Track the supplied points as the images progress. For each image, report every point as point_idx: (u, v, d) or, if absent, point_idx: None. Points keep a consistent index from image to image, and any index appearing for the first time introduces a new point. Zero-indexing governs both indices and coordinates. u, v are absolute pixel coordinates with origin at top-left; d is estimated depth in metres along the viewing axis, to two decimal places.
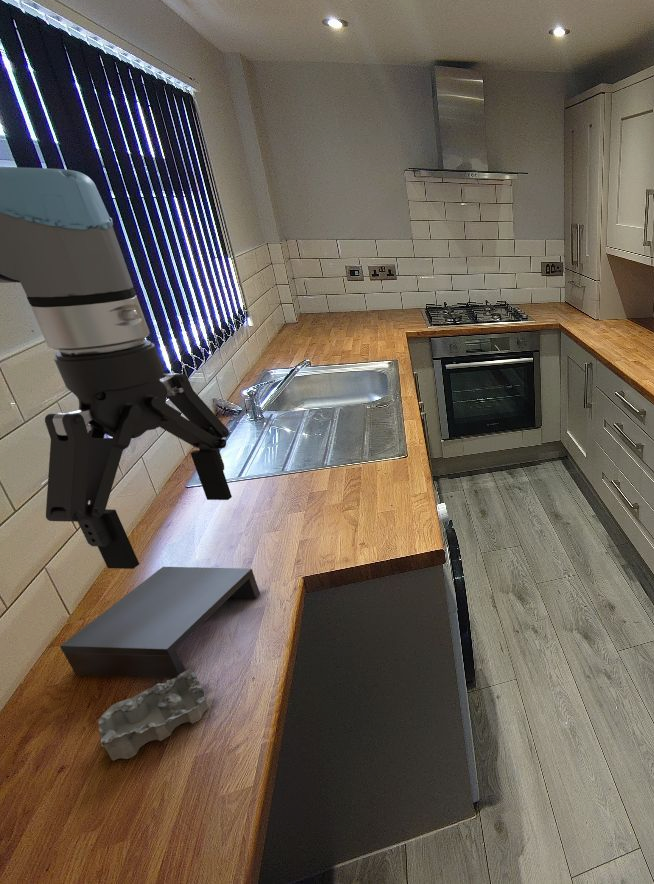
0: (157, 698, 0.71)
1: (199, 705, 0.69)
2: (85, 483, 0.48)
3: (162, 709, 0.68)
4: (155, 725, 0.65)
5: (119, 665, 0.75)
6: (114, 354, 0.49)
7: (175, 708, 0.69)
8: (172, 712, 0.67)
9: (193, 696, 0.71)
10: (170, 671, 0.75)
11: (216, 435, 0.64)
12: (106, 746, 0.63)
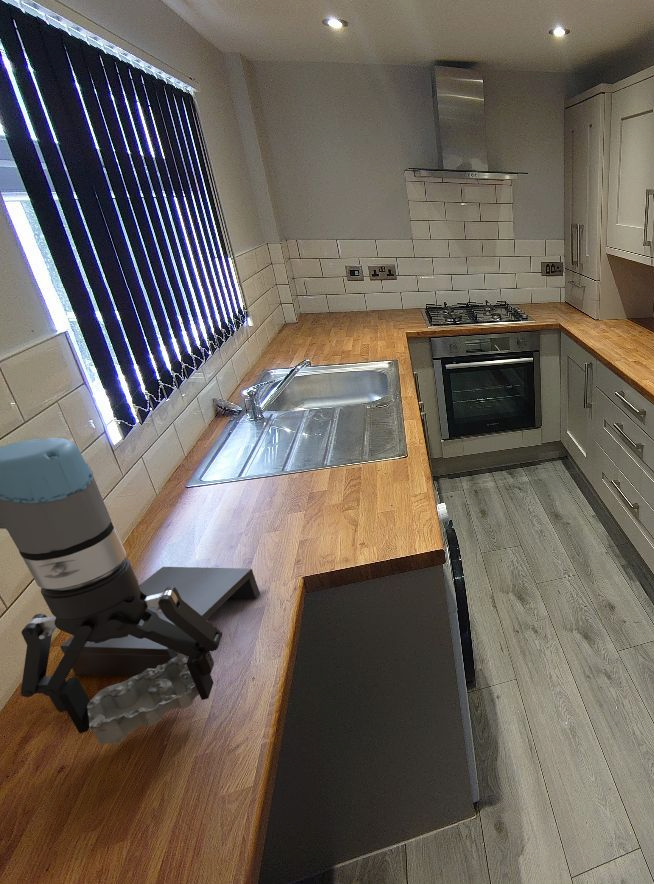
0: (147, 683, 0.70)
1: (190, 691, 0.68)
2: (36, 673, 0.60)
3: (152, 695, 0.67)
4: (145, 710, 0.65)
5: (119, 665, 0.75)
6: (49, 595, 0.56)
7: (166, 693, 0.68)
8: (162, 697, 0.66)
9: (184, 682, 0.70)
10: None
11: None
12: (94, 730, 0.62)
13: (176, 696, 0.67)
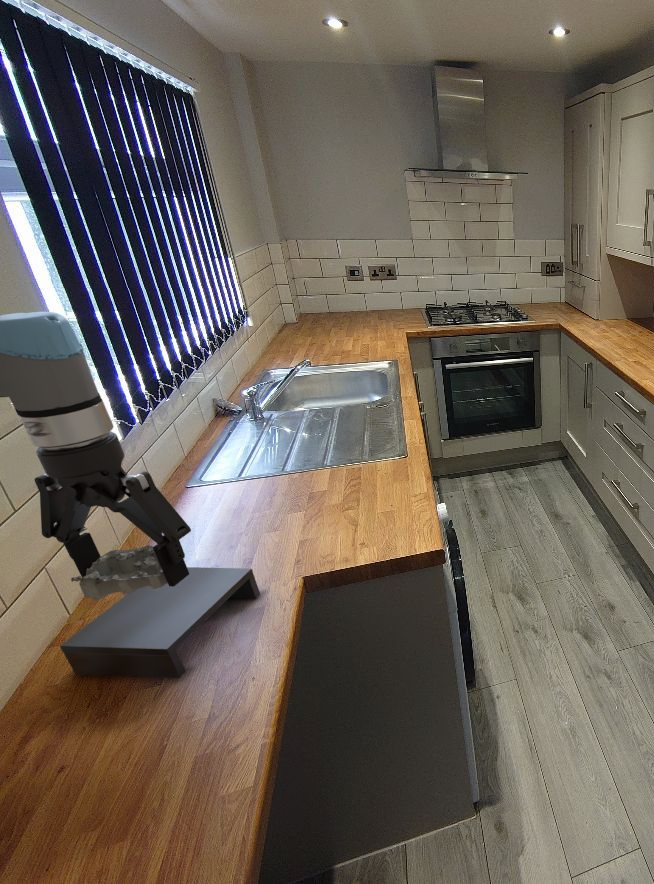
0: None
1: (159, 574, 0.72)
2: (49, 519, 0.70)
3: (136, 567, 0.73)
4: (117, 578, 0.70)
5: (119, 665, 0.75)
6: (38, 451, 0.63)
7: (146, 570, 0.73)
8: (137, 572, 0.72)
9: None
10: (170, 671, 0.75)
11: None
12: (80, 583, 0.70)
13: (146, 575, 0.71)
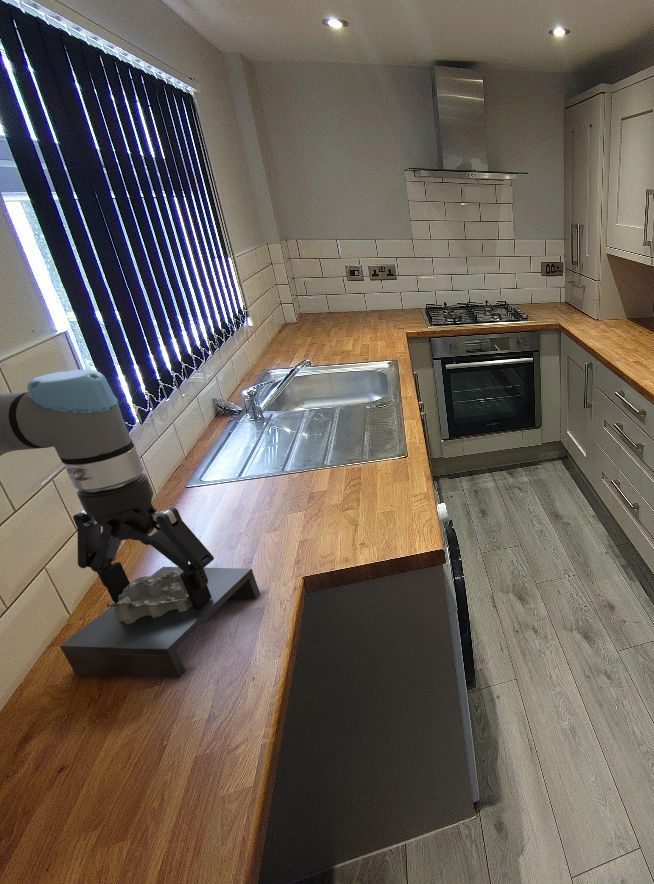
0: None
1: (185, 598, 0.80)
2: (85, 551, 0.77)
3: (163, 593, 0.81)
4: (148, 603, 0.78)
5: (119, 665, 0.75)
6: (78, 493, 0.71)
7: (173, 595, 0.81)
8: (165, 597, 0.79)
9: None
10: (170, 671, 0.75)
11: None
12: (114, 608, 0.78)
13: (174, 599, 0.79)
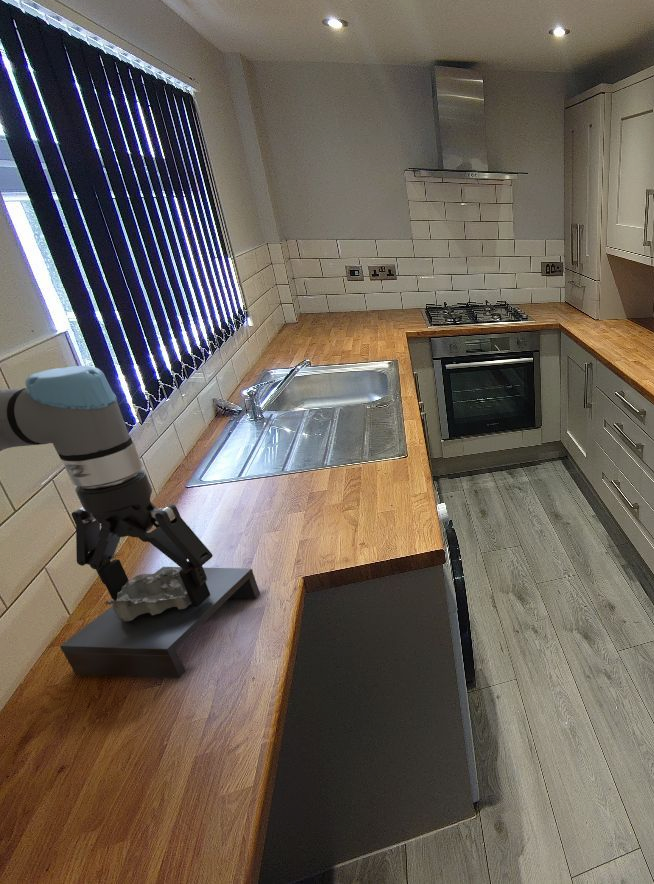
0: None
1: (184, 596, 0.80)
2: (83, 549, 0.77)
3: (162, 590, 0.81)
4: (147, 601, 0.78)
5: (119, 665, 0.75)
6: (77, 490, 0.71)
7: (172, 592, 0.81)
8: (164, 595, 0.79)
9: None
10: (170, 671, 0.75)
11: None
12: (112, 605, 0.77)
13: (172, 597, 0.79)
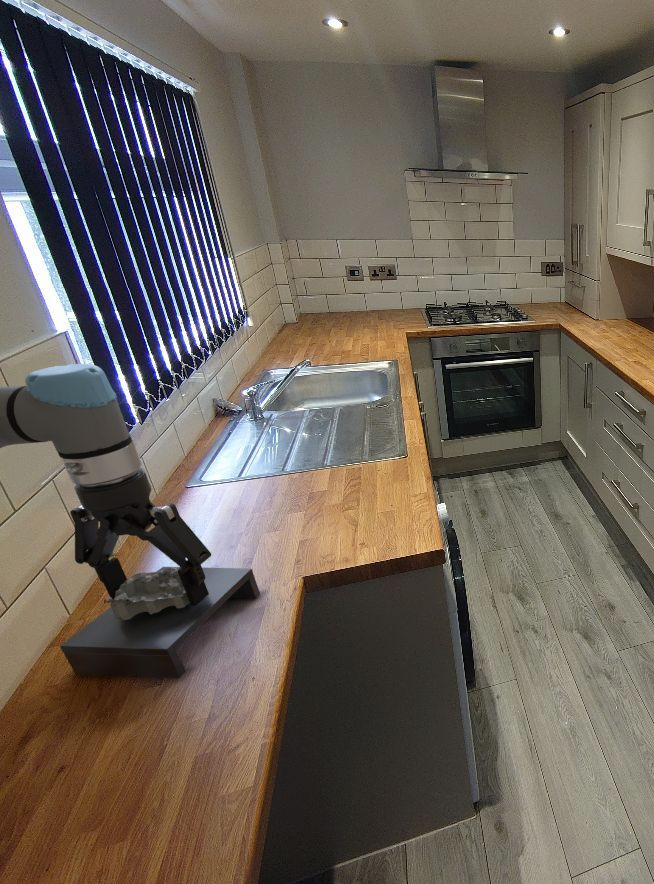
0: None
1: (183, 595, 0.79)
2: (82, 547, 0.77)
3: (160, 589, 0.80)
4: (145, 600, 0.78)
5: (119, 665, 0.75)
6: (76, 488, 0.71)
7: (170, 591, 0.81)
8: (163, 593, 0.79)
9: None
10: (170, 671, 0.75)
11: None
12: (111, 604, 0.77)
13: (171, 596, 0.79)
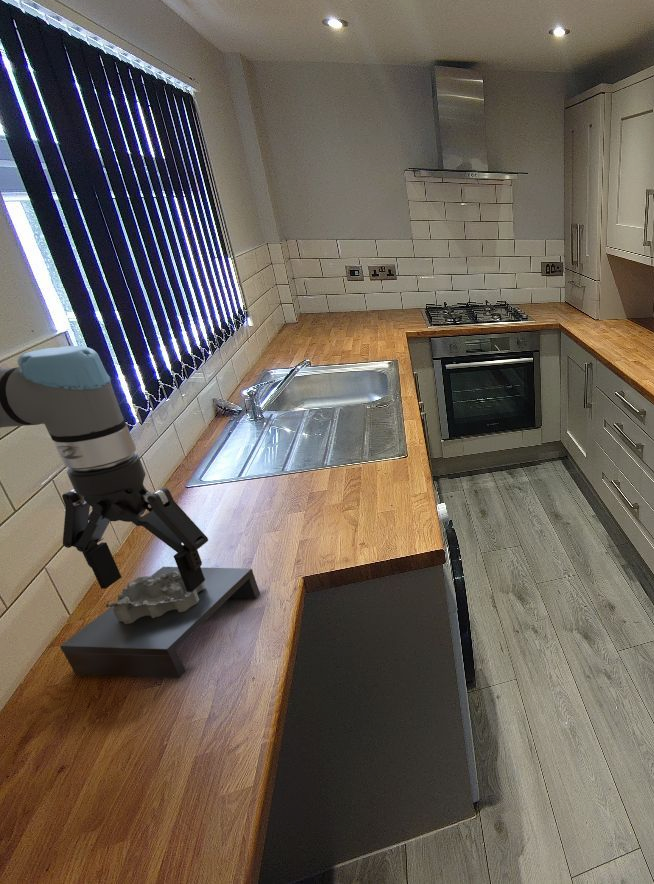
0: None
1: (184, 598, 0.80)
2: (71, 531, 0.76)
3: (162, 593, 0.81)
4: (147, 603, 0.78)
5: (119, 665, 0.75)
6: (68, 472, 0.70)
7: (172, 595, 0.81)
8: (165, 597, 0.79)
9: None
10: (170, 671, 0.75)
11: None
12: (113, 608, 0.78)
13: (173, 600, 0.79)
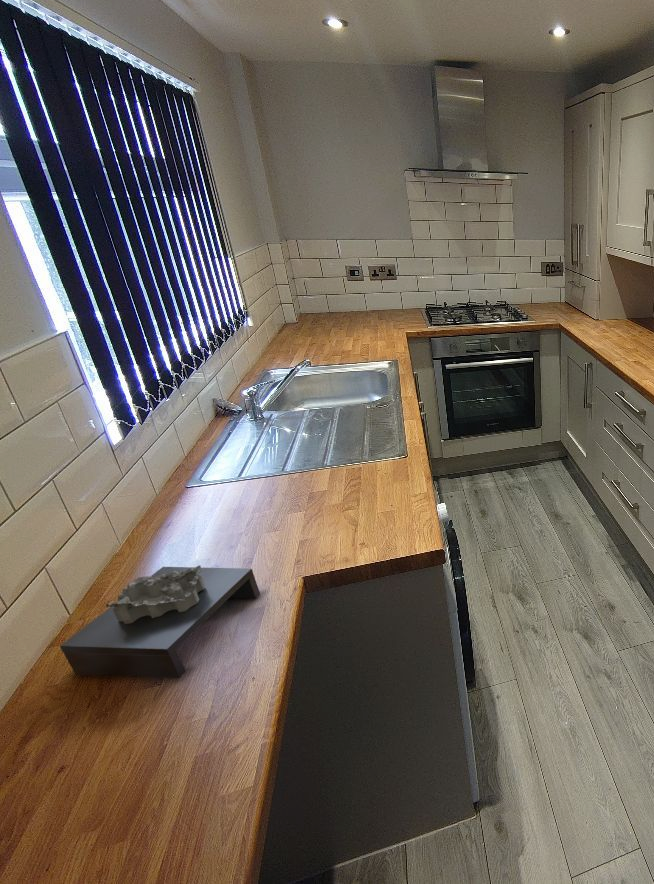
0: None
1: (184, 598, 0.80)
2: None
3: (162, 593, 0.81)
4: (147, 603, 0.78)
5: (119, 665, 0.75)
6: None
7: (172, 595, 0.81)
8: (165, 597, 0.79)
9: (189, 590, 0.82)
10: (170, 671, 0.75)
11: None
12: (113, 608, 0.78)
13: (173, 600, 0.79)
